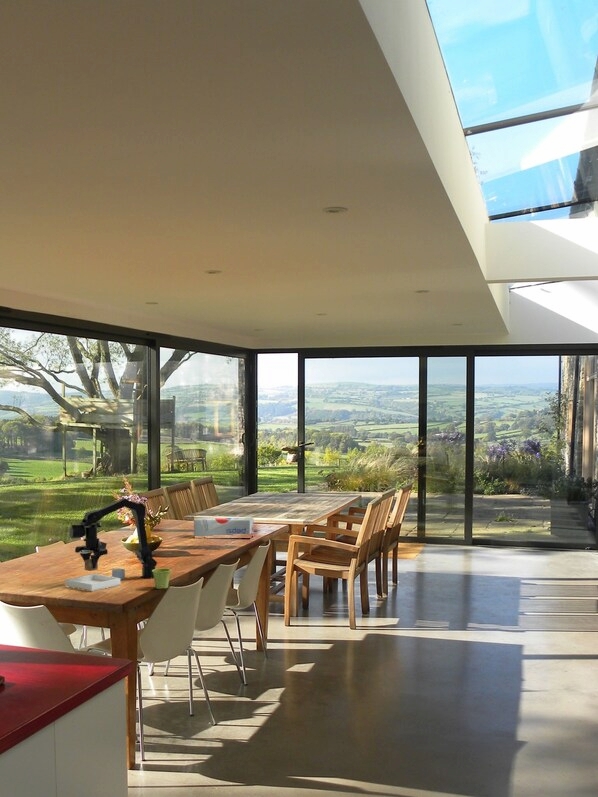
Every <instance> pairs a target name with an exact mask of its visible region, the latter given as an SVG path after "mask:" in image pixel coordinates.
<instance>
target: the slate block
mask: <svg viewBox="0 0 598 797" xmlns="http://www.w3.org/2000/svg"><path fill="white" fill-rule="evenodd" d="M125 571H126V569H125V568H118V567H117V568H114V569H112V571H111V575H112V576H111V577H116V578H120V581H121V580H124V579H125V575H126V572H125Z"/></svg>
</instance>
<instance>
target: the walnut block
mask: <svg viewBox="0 0 598 797" xmlns="http://www.w3.org/2000/svg"><path fill="white" fill-rule="evenodd" d="M98 562H99V561H98ZM98 562H97V565H96V568H93V565H92V561H91V558H90V559H87V560H85V562H84V570H85V571H87V572H92V571H97V570H98V569H99V568H98Z"/></svg>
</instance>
